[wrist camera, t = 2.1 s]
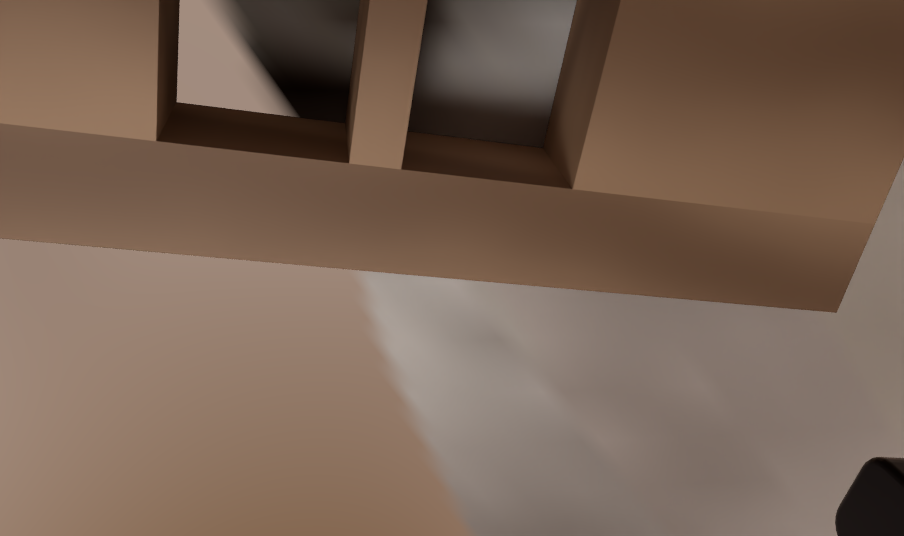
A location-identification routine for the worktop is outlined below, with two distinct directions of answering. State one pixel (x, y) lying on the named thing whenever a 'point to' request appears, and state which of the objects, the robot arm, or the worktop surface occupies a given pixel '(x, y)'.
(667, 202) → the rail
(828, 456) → the worktop surface
